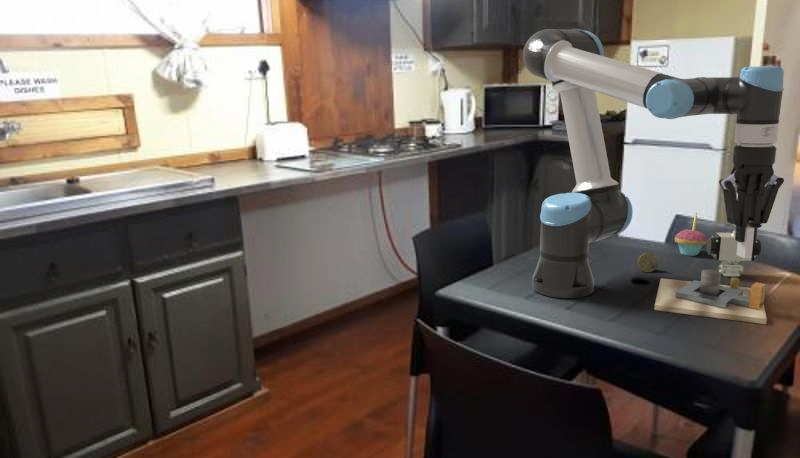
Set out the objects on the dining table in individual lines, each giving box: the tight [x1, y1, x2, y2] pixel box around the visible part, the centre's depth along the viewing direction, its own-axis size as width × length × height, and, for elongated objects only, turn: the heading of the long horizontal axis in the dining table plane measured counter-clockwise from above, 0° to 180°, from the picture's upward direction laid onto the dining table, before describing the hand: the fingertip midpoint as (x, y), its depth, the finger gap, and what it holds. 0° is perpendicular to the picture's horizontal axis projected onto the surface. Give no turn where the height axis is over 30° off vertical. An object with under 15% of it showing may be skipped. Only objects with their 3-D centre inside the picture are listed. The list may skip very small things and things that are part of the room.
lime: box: [637, 252, 659, 273], centre depth 167 cm, size 4×5×5 cm
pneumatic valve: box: [706, 230, 762, 278], centre depth 161 cm, size 6×12×12 cm, turn 79°
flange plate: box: [675, 279, 767, 309], centre depth 141 cm, size 16×11×5 cm, turn 44°
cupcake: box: [674, 212, 708, 257], centre depth 180 cm, size 9×8×12 cm
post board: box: [654, 269, 768, 325], centre depth 143 cm, size 22×20×7 cm
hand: (743, 256), depth 131 cm, fingers closed
